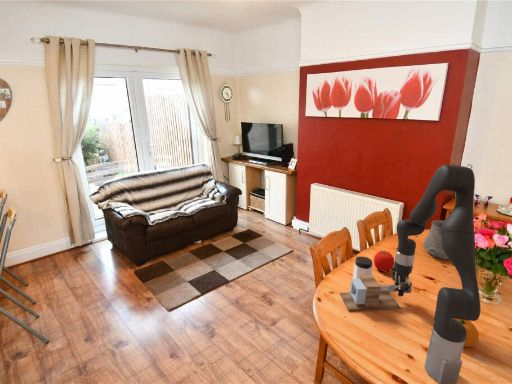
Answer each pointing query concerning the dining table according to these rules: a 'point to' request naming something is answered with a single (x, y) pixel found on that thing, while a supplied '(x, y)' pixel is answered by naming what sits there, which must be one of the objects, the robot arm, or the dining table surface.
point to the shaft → (392, 288)
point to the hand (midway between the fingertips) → (398, 293)
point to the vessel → (435, 240)
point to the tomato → (383, 261)
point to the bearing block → (371, 297)
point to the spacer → (358, 291)
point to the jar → (362, 267)
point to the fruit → (469, 333)
